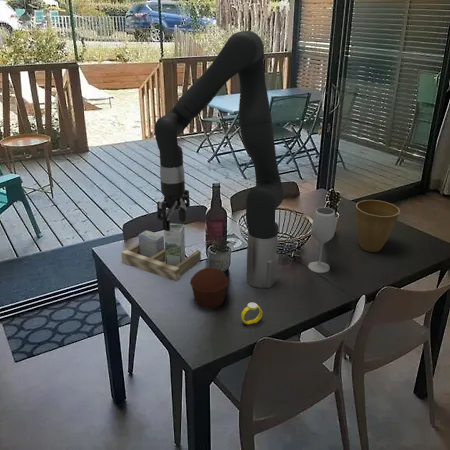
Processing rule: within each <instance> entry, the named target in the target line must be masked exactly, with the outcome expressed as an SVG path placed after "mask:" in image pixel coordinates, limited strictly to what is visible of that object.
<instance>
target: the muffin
mask: <svg viewBox="0 0 450 450" xmlns="http://www.w3.org/2000/svg"><path fill="white" fill-rule="evenodd" d="M229 281H230V280H229V278H228V276H227V275H226V274H225V272H224V271H222V270H221V269H220V268H217V267H209V266H208V267H204V268H201V269H200V270H198V271H196V273H195V274H194V275H193V276H192V277H191V279H190V282H189V283H190V286H191V288H192V294H193V297H194V298H193V299H194V301H195V302H196V304H197V306H198V307H202V308H205V309H212V308H213V309H216V308H218V307H219V306H222V305H223V303H224V301H225V299H226V292H227V287H228V285H229Z"/></svg>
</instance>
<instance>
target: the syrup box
mask: <svg viewBox="0 0 450 450" xmlns="http://www.w3.org/2000/svg"><path fill="white" fill-rule="evenodd" d="M163 236H164V249H165V260H166V261H165V263H166V264H169V265H172V266H176V265H178V264H179V263H180V262H182V261H183V260H185V259H186V250H185V248H186V247H185V245H186V241H185V238H186V237H185V224H183V223H170V230H169V231H165V230H164V229H163Z"/></svg>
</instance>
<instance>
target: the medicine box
mask: <svg viewBox="0 0 450 450" xmlns="http://www.w3.org/2000/svg"><path fill="white" fill-rule="evenodd" d="M137 236H138V243H139V249H140V255H143V256H146V257H149V258H151V257H152V256H154V255H155V254H157V253H159V252H160V251H162V250H163V249H165V239H164V234H159V233H156V232H155V231H154V232H153V231H150V230H144V231H143V232H141V233H139V234H138V235H137Z"/></svg>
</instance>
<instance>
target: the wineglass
mask: <svg viewBox="0 0 450 450" xmlns="http://www.w3.org/2000/svg"><path fill="white" fill-rule="evenodd" d="M310 231H311V235H312V237H313V238H314V240H316V241H317V242H318V243H319V253H318V254H319V256H318V261H311V262H310V263H309V264H308V266H307V267H308V269H309V270H310V271H311V272H312V273H313V272H314V273H318V274H324V273H328V272H330V270H331V269H330V265H329V264H327V263H326V262H323V261H322V254H323V253H322V252H323V246H324V244H325V243H327V242H329V241H330V240H332V239H333V238H334V236H335V233H336V212H335V210H334V209H333V208H330V207H326V206H320V207H318V208H316V209H315V212H314V214H313V220H312V223H311V229H310Z"/></svg>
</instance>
